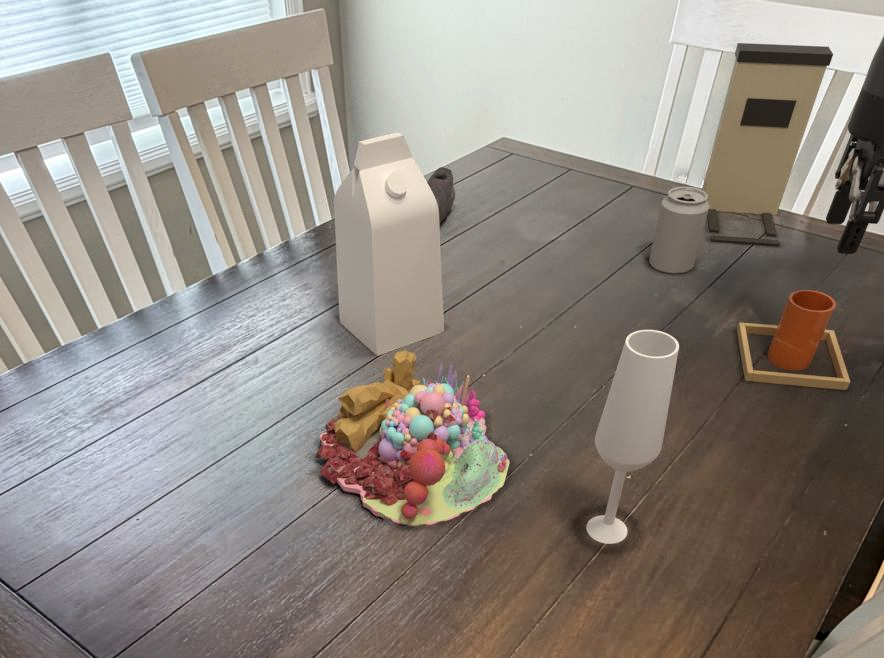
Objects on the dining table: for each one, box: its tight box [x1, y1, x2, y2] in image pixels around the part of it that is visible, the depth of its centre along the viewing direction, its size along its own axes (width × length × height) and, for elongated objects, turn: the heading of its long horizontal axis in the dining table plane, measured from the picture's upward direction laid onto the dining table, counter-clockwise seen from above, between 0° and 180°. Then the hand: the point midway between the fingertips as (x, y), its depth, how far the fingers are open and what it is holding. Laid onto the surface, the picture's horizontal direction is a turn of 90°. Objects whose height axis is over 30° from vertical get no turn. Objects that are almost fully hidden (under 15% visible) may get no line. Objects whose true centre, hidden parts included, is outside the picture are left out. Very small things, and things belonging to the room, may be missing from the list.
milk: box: [333, 132, 445, 357], centre depth 103 cm, size 12×12×26 cm
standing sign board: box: [701, 42, 834, 248], centre depth 125 cm, size 15×18×26 cm
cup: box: [766, 289, 837, 371], centre depth 102 cm, size 6×6×9 cm
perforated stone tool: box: [426, 166, 456, 225], centre depth 135 cm, size 15×5×7 cm, turn 164°
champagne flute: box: [586, 329, 680, 545], centre depth 75 cm, size 7×7×24 cm
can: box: [648, 186, 709, 274], centre depth 121 cm, size 8×8×12 cm
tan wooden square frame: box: [736, 321, 851, 391], centre depth 105 cm, size 14×14×2 cm
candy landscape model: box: [314, 349, 511, 527], centre depth 90 cm, size 25×24×9 cm
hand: (839, 237), depth 93 cm, fingers open, 8 cm apart
